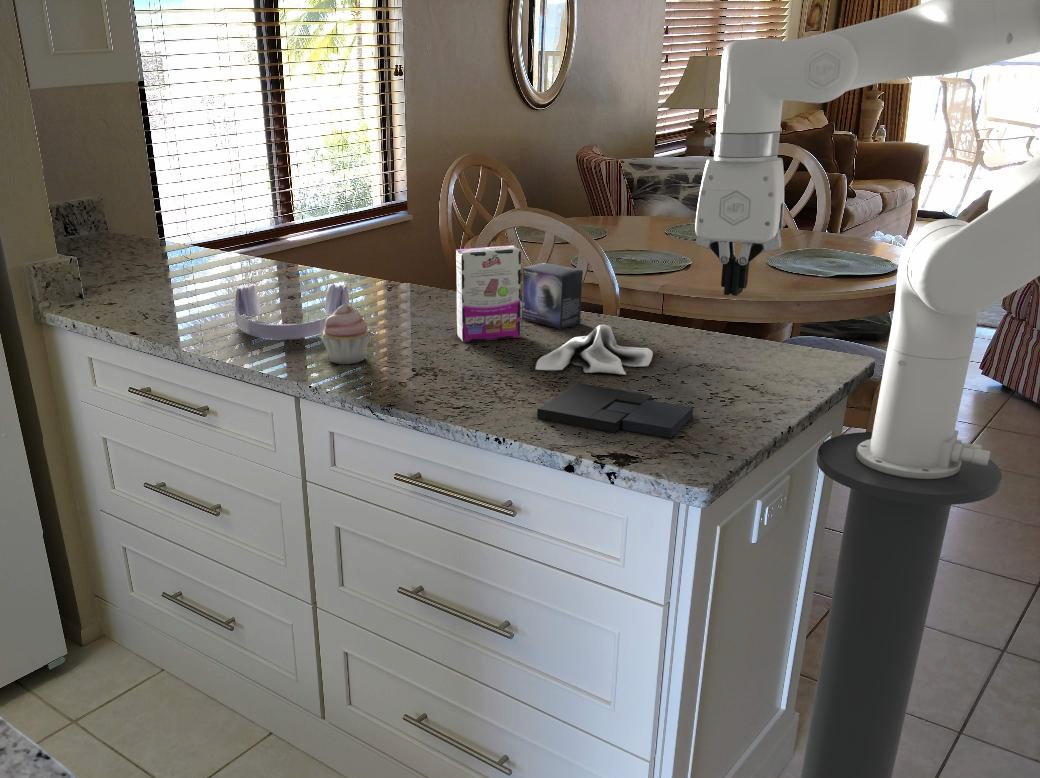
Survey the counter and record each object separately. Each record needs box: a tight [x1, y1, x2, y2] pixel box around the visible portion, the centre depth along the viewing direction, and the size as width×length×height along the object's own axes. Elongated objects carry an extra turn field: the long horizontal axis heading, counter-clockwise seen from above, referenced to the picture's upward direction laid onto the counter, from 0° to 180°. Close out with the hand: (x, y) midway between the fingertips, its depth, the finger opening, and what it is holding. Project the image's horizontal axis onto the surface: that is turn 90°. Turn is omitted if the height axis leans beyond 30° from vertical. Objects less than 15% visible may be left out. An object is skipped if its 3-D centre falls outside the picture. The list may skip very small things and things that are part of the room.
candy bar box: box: [455, 245, 522, 343], centre depth 182 cm, size 11×5×16 cm, turn 101°
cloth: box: [534, 324, 654, 376], centre depth 169 cm, size 22×19×6 cm
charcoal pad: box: [605, 400, 694, 439], centre depth 142 cm, size 11×10×2 cm
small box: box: [520, 262, 584, 330], centre depth 192 cm, size 11×6×10 cm, turn 40°
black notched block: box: [536, 382, 653, 434], centre depth 146 cm, size 12×14×2 cm
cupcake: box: [318, 304, 374, 365], centre depth 171 cm, size 9×9×10 cm
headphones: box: [233, 283, 350, 340], centre depth 195 cm, size 22×7×20 cm
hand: (733, 293), depth 131 cm, fingers closed
